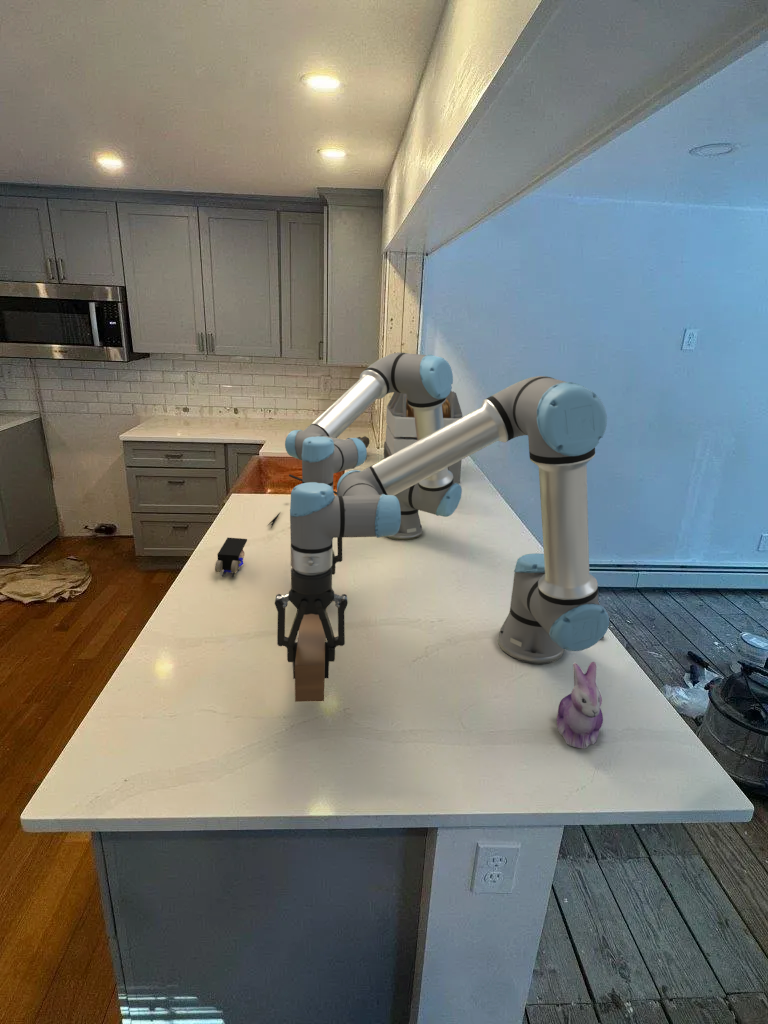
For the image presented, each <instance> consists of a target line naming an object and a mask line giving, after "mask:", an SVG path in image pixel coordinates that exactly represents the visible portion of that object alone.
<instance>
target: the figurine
mask: <svg viewBox="0 0 768 1024" xmlns="http://www.w3.org/2000/svg"><path fill="white" fill-rule="evenodd" d="M597 667H598V666H597V662H595V661H591V662H590V663H589V665H588V666H587V669H586V671H585V673H584V671H583V670H582V668H581V666H580V665H579V664H578V663H576V662H574V663H573V664H572V671H573V673H572V674H573V688H572V690H571V692H570V693H569V694H567V695H566V696H564V697H563V698H562V699H560V702H559V704H558V709H557V716H556V727H557V732H558V733H559V734H560V735H561V736H562V738H563V739H564V742H565V743H566V744H567V745H568V746H569V747H574V748H577V749H587V748H588V747H589V746H590V745H595V744H596V743H597V740H598V738H599V735H600V734H599V733H600V730H601V728H602V726H603V724H604V723H603V722H604V717H603V716H604V715H603V712H602V708H601V706H602V704H603V696H602V693H601V691H600V689H599V686H598V685H597V670H598V669H597Z"/></svg>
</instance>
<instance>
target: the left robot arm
mask: <svg viewBox="0 0 768 1024" xmlns="http://www.w3.org/2000/svg"><path fill="white" fill-rule="evenodd" d="M451 367H452V366H451V364H450V363H449V362H448V361H447V359H445V358H444V357H442V356H436V355H433V354H420V353H419V354H418V353H407V352H401V351H399V352H393V353H390V354H388V355H385V356H383V357H381V358H379V359H378V360H376V361H375V362H373V363H371V364H369V366H367V367H366V368H365V369H364V370H363V371H362V372H361V373H360V374H359V379H358V380H357V381H356V382H355V383H354V384H353V385H351V386H350V387H349V388H348V390H346V391H345V392H344V393H343V394H342V395H341V396H340V397H339V398H338V399H336V400H335V401H333V403H332V404H331V405H330V406H329V407H328V408H326V410H325V411H324V412H323V413H321V414H320V415H319V416H318V417H317V418H316V419H315V420H314V421H312V422H311V423H310V425H308V426H307V427H305V429H304V430H302V429H293V430H291V431H290V432H289V433H288V434H287V436H286V438H285V440H284V441H285V442H284V448H285V451H286V453H287V454H288V455H289V457H292V458H295V459H297V460H300V461H301V476H302V477H301V478H300V477H298V476H295V475H293V474H290V473H289V474H288V477H289V478H292V479H293V480H297V481H300V482H301V484H302V483H308V482H317V483H324V484H327V485H329V486H331V487H332V488H333V489H334V475H335V474H338V473H341V472H345V471H349V470H354V469H355V468H357V467H359V466H361V465H363V464H364V463H365V461H366V460H367V457H368V454H367V453H368V452H367V451H368V450H367V448H366V447H365V445H364V443H363V442H362V441H361V440H360V439H358V438H357V437H347V438H345V439H344V438H339V436H340V435H341V434H343V433H344V432H345V431H346V430H347V429H348V428H349V427H350V426H351V425H352V424H353V423H354V422H355V421H356V420H357V419H358V418H359V417H360V416H362V414H364V412H365V411H366V410H368V409H369V407H371V405H372V404H373V403H375V402H376V400H380V399H383V398H384V397H386V395H388V394H391V393H394V392H398V393H404V394H406V395H407V402H408V405H409V406H411V407H412V408H413V410H414V418H415V426H416V434H417V441H419V440H421V439H423V438H424V437H426V436H428V435H430V434H432V433H434V432H436V431H438V430H439V429H441V428H443V427H444V424H443V413H442V404H443V403H444V402H445V401H446V397H447V396H448V395H449V394H450V392H451V391H452V389H453V387H452V385H453V383H454V374H453V369H452V368H451ZM333 492H334V495H337V490H336V491H335V490H333ZM462 492H463V489H462V485H461V484H459V483H454V480H453V474H452V473H451V472H450V471H449V470H448V467H447V468H445V469H443V470H441V471H439V472H438V473H436V474H434V475H432V476H430V477H428V478H426V479H424V480H422V481H420V482H419V483H417V484H415V485H413V486H411V487H409V488H407V489H405V490H403V491H402V492H400V493H398V494H396V495H394V496H396V497H397V499H398V500H399V504H400V510H401V522H400V528H399V531H398V532H397V534H395V535H393V536H383V537H385V538H387V539H389V540H395V541H410V540H415V539H418V538H420V537H421V536H422V535H423V525H422V524H421V518H420V515H419V511H421V512H424V513H428V514H431V515H435V516H437V517H439V516H440V517H444V518H447V517H450V516H452V515H453V514H454V513H455V512H456V510H457V508H458V506H459V504H460V501H461V499H462ZM336 539H337V540H336V541H337V542H336V543H337V555H335V552H334V550H333V554H332V566H331V568H332V576H334V575H335V574H336V564H337V563H342V562H343V538H336Z"/></svg>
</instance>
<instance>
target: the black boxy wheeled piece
mask: <svg viewBox="0 0 768 1024" xmlns="http://www.w3.org/2000/svg"><path fill="white" fill-rule="evenodd" d="M247 542H248V538H240V537H226V539H225V541H224V543H223V544H222V546H221V547H220V549H219V551H218V552H217V560H216V562H215V564H214V572H215V573H221V577H222V578H224V577H225V576H226V574H227V573H230V574H231V573H232V574H231V578H234V577H235V575H236V573H237V572H239V571H240V567H242V566H243V565H244V564H245V562H244V558H245V551H244V547H245V546H246V544H247Z"/></svg>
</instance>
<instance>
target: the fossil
mask: <svg viewBox="0 0 768 1024" xmlns="http://www.w3.org/2000/svg"><path fill="white" fill-rule="evenodd" d="M356 438H358V439H360V440H361V441H362V442H363V443H364V445H365V447H366V449H367V448H368V447H369V445H370V438H369V436H362V437H361V436H358V437H356Z"/></svg>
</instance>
